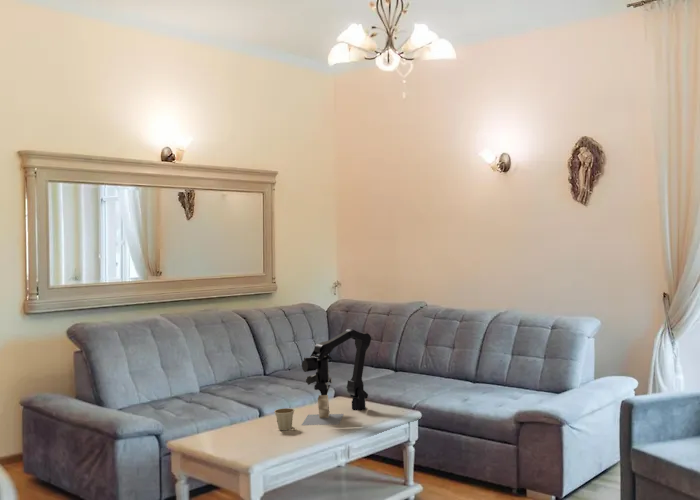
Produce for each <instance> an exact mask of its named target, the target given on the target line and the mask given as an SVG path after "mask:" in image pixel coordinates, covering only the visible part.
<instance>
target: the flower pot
mask: <svg viewBox="0 0 700 500" xmlns="http://www.w3.org/2000/svg"><path fill="white" fill-rule="evenodd" d="M294 412H295V409H293V408H290V407H289V408H288V407H285V408H277V409H275V410H274V414H275V416H276V422H277V426H278V427H277V428H278V430H279V431H290V430H291V429H292V427H293V417H294V414H295V413H294Z"/></svg>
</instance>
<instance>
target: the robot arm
mask: <svg viewBox="0 0 700 500" xmlns="http://www.w3.org/2000/svg"><path fill="white" fill-rule="evenodd" d="M350 339H352V340H354V345H355V349H356V351H355V358H354V363H353V364H354V365H353V369H352V370H353V372H352V377H351V379H348V380H347V382H346V383H347V385H346V387H345V388H346V389H347V393H348V394H349V397H350V398H352V399H351V409H352V411H366V409H367V407H366V406H367V405H366V404H367V403H366V399H368V396H369V394H368V393H367V392H366V391H365V390H364V389H365V388H364V381H363V375H364V374H363V373H364V366H365V359H366V354H367V350H368V348H369V347H370V345H371V342H372V336H371V335H370V334H369V333H367V332H359V331H358V330H357V331H356V330H355V329H354V328H353V329H351V328H347V329H345V331H343V332H341V333H339V334H337V335H336V336H334V337H332V338H331V339H329V340H326V341H322V342H319V343H316V344H315V345H314V349H313V350H312V352H311V353H310V354H311V355H310V357H309V356H308V357H304V358H303V360H302V362H301V369H302V370H303V372H304V373H306V372H313V371H316V372H315V374H313V375H308V376H307V377H306V378H305V381H306V383H307V385H308V386H309V385H312V383H315V384H314V386H313V387H314V388H313V389H314V391H319V392H320V395H328V393H329V390H330V387H331V385H330V384H332V383H333V379H332V377H331V376H330V375H329V373H330V370H329V360H333V358H332V357H331V356H330V355H329V354H330V353H332V352H333V350H334V349H335V348H336V347H338V346H340V345H342V344H343V343H345V342H347V341H348V340H350Z"/></svg>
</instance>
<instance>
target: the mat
mask: <svg viewBox="0 0 700 500" xmlns="http://www.w3.org/2000/svg"><path fill="white" fill-rule="evenodd" d="M343 416H344V413H329V418H319V413H318V414H316V413H315V414H307V415H306V418H304V420H303V422H302V423H301V426H318V425H319V426H329V425H330V426H331V425H333V426H334V425H340V424H341V421H342V419H343Z"/></svg>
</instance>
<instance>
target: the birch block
mask: <svg viewBox="0 0 700 500" xmlns="http://www.w3.org/2000/svg"><path fill="white" fill-rule="evenodd" d="M317 406H318V407H317V408H318V414H319V418H329V414H330V403H329V395H328V394H327V395H321V394H318V397H317Z"/></svg>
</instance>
